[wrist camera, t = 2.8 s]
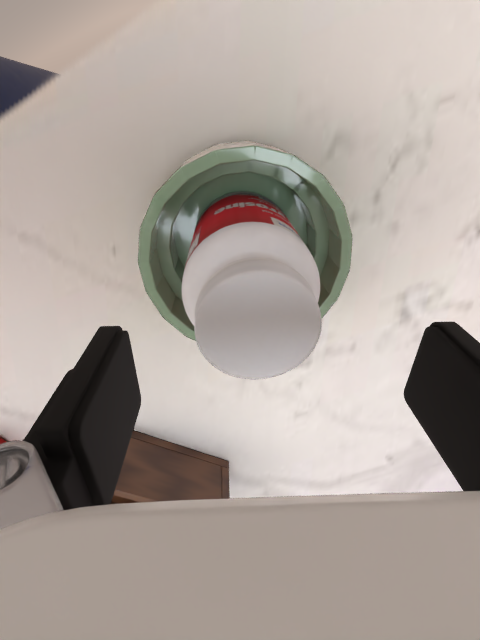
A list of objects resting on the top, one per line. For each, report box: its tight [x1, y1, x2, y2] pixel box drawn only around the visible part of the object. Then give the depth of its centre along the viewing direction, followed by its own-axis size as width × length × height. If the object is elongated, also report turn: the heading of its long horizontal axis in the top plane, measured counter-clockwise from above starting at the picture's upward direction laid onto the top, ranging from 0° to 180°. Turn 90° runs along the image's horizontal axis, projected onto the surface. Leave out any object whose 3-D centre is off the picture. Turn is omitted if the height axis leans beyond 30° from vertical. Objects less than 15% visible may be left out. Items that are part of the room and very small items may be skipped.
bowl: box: [138, 141, 352, 341], centre depth 20 cm, size 11×11×5 cm
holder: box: [111, 431, 229, 504], centre depth 32 cm, size 11×11×6 cm
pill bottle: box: [182, 192, 322, 379], centre depth 17 cm, size 6×6×11 cm
